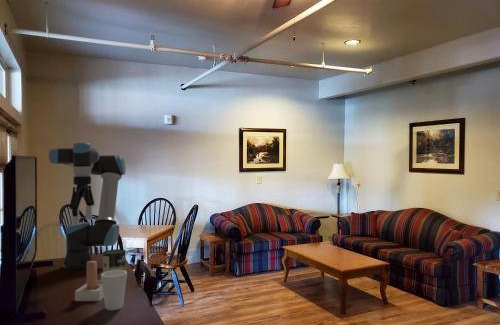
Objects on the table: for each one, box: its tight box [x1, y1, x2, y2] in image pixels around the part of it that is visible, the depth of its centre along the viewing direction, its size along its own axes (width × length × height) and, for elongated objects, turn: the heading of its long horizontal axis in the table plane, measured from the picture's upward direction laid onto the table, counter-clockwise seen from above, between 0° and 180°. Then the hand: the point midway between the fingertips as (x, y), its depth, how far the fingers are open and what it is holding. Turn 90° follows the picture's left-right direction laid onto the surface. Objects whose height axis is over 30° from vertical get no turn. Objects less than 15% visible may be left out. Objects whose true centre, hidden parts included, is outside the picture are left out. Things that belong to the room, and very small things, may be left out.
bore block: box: [74, 278, 104, 302], centre depth 162 cm, size 16×10×4 cm, turn 179°
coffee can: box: [102, 248, 127, 273], centre depth 180 cm, size 10×10×14 cm
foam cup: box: [100, 270, 128, 311], centre depth 147 cm, size 10×9×13 cm
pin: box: [86, 260, 98, 290], centre depth 158 cm, size 4×4×14 cm
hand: (82, 221), depth 178 cm, fingers open, 13 cm apart
